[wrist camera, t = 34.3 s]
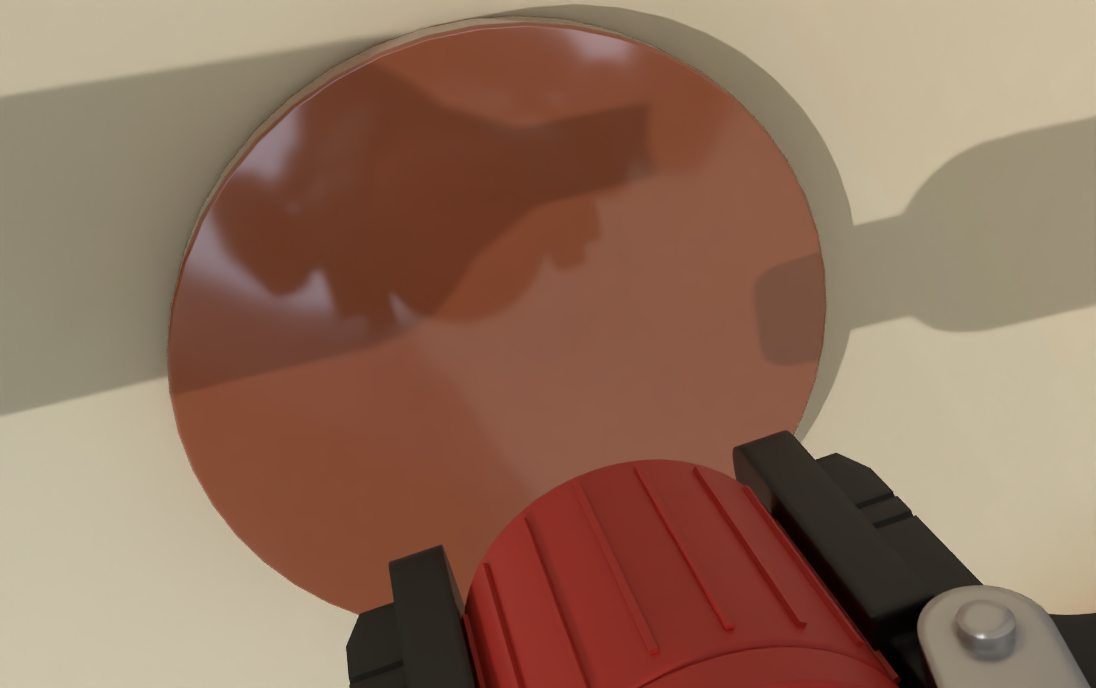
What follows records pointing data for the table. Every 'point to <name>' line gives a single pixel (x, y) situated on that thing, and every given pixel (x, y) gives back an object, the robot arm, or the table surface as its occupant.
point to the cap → (658, 592)
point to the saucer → (483, 295)
